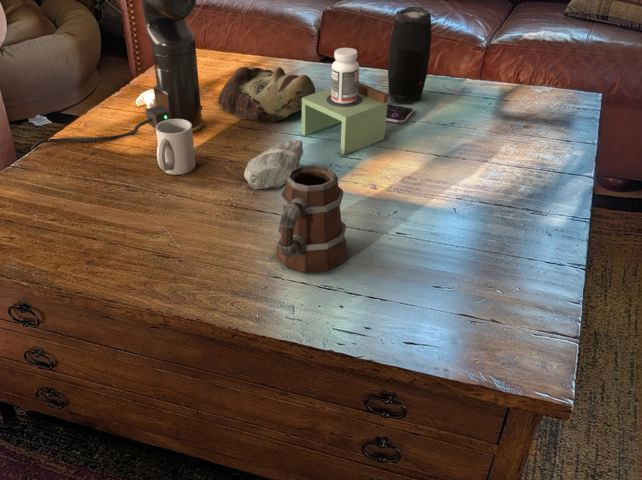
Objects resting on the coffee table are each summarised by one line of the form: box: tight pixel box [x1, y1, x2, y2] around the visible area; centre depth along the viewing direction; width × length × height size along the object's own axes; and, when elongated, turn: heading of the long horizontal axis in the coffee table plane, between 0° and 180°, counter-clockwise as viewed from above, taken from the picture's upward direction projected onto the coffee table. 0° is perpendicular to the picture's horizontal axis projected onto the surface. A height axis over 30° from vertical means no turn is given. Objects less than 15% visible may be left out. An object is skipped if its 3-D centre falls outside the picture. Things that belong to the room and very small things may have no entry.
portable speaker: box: [387, 6, 433, 104], centre depth 170 cm, size 9×9×20 cm
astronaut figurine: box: [135, 88, 156, 109], centre depth 177 cm, size 9×12×3 cm
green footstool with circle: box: [301, 81, 389, 156], centre depth 157 cm, size 12×14×10 cm
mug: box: [276, 163, 347, 274], centre depth 119 cm, size 16×12×15 cm
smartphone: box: [386, 103, 414, 124], centre depth 170 cm, size 8×1×15 cm
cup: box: [155, 119, 196, 176], centre depth 148 cm, size 7×10×9 cm
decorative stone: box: [243, 139, 304, 190], centre depth 145 cm, size 13×10×6 cm
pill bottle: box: [330, 47, 360, 104], centre depth 152 cm, size 6×6×10 cm
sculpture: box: [217, 66, 317, 123], centre depth 172 cm, size 21×10×25 cm
